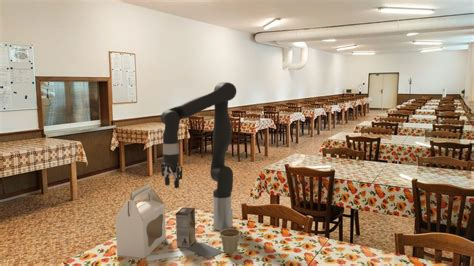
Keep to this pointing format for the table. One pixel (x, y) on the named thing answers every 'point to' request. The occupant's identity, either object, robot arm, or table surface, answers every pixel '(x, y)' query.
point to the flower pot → (230, 240)
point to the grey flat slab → (204, 250)
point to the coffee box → (185, 227)
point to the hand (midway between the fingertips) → (172, 186)
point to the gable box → (140, 224)
